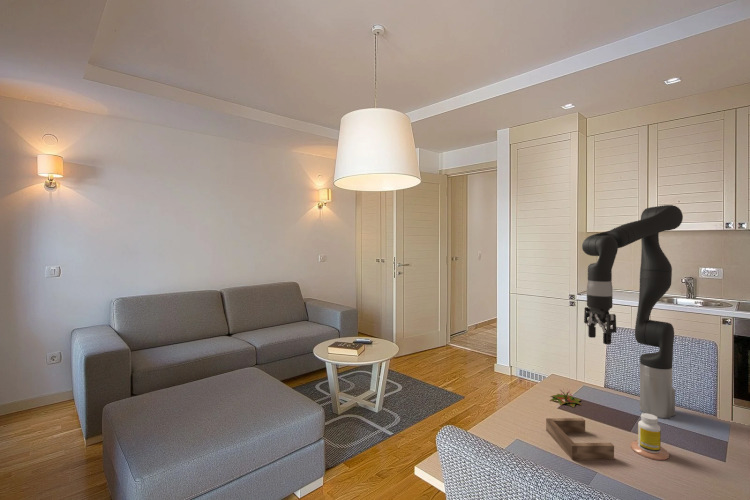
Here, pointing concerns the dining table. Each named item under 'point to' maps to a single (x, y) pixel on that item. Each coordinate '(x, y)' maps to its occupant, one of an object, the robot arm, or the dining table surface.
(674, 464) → the dining table surface
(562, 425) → the walnut cubby
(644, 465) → the dining table surface
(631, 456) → the dining table surface
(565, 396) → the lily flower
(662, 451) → the terracotta coaster
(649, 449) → the supplement bottle
